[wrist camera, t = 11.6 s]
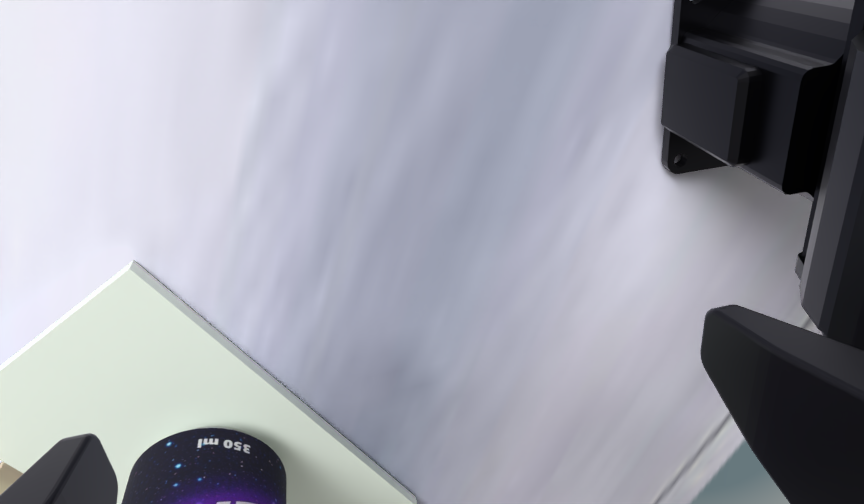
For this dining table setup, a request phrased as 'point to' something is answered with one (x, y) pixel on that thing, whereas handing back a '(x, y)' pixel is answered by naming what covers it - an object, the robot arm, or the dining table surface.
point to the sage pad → (168, 394)
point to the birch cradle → (7, 476)
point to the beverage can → (207, 470)
